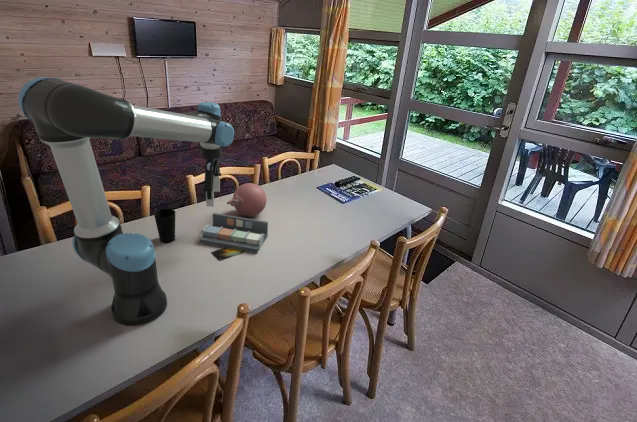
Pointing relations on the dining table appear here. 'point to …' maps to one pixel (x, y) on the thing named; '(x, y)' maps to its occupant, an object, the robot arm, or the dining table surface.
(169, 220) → the cup
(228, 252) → the smartphone
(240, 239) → the key sage
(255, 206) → the balloon
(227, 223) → the keypad
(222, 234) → the key terracotta
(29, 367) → the dining table surface
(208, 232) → the key slate
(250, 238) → the key cream
